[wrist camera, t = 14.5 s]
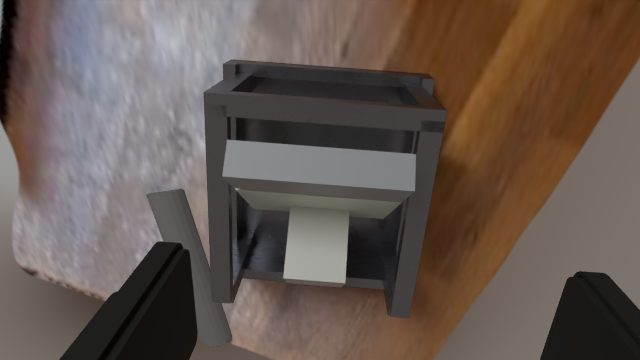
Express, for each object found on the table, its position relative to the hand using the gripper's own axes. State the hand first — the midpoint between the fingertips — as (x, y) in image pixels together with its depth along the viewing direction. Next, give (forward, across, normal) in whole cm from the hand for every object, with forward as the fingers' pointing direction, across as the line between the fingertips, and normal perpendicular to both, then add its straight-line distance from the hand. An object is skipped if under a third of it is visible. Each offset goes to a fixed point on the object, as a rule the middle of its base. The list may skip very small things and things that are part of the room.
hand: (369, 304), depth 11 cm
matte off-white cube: (+25, +2, +11) cm, 28 cm away
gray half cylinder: (+30, +16, +21) cm, 40 cm away
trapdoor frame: (+29, +3, +8) cm, 31 cm away
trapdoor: (+22, +2, +6) cm, 23 cm away
